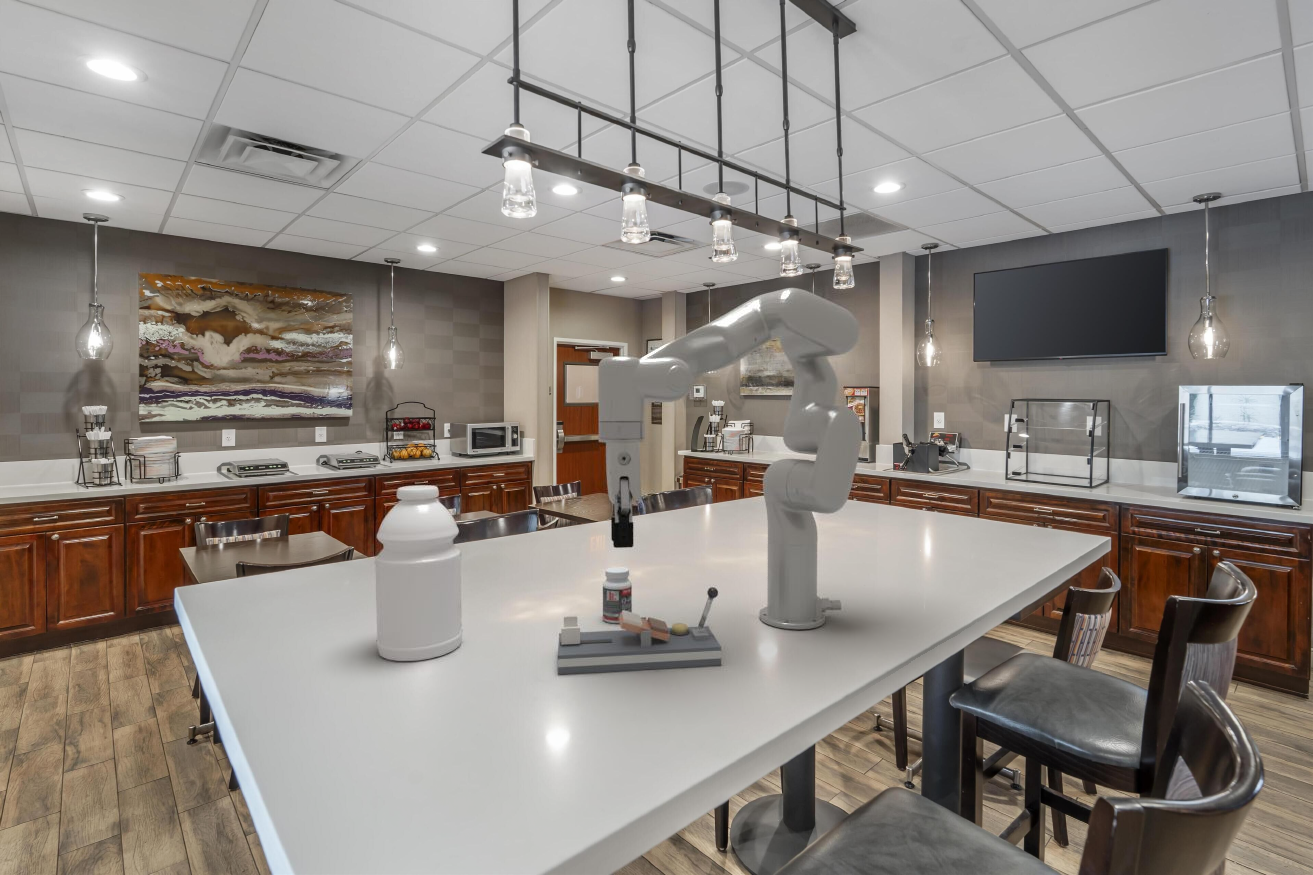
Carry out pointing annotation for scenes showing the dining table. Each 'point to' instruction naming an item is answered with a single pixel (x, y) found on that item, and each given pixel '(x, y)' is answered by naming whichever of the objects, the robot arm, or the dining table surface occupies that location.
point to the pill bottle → (616, 593)
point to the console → (639, 650)
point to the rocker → (643, 625)
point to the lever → (707, 606)
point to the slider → (570, 630)
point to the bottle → (418, 578)
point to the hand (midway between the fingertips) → (622, 542)
